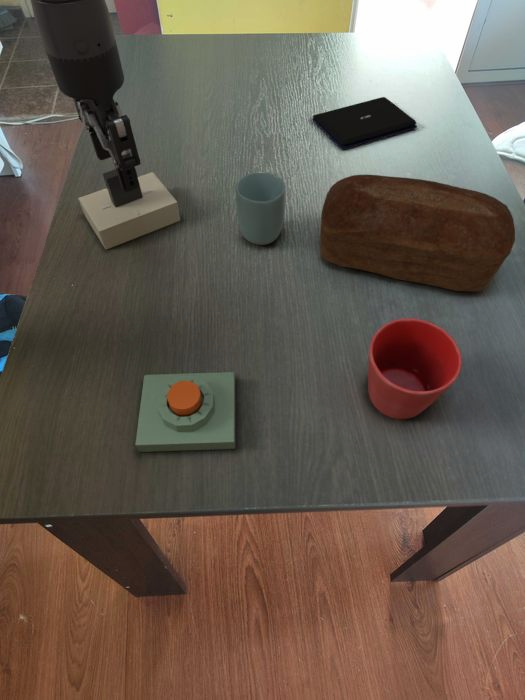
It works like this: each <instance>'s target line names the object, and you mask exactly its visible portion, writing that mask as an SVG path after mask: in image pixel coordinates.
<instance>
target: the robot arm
mask: <svg viewBox="0 0 525 700" xmlns="http://www.w3.org/2000/svg"><path fill="white" fill-rule="evenodd" d="M29 1H30V5H31V8H32V14H33V17H34V20H35V24H36V25H35V26H36V28H37V30H38V34H39V37H40V39H41V42H42V44H43V48H44V51H45V54H46V56H47V59H48V62H49V65H50V68H51V71H52V74H53V76H54V79H55V82H56V85H57V88H58V89H59V91H60V92H61V94H63V95H65V96H66V97H68V98H71V99H72V100H73V102H74V106H75V109H76V112H77V117H78V119H79V121H80V122H81V123H82V124H83V125H84V129H85V131H86V132H87V133H88V134H89V136H90V140H91V142H92V146H93V149H94V153H95V155H96V157H97V159H98V160H99V161H105V160H108V159H110V158H111V160H112V163H113V165H114V167H115V169H116V170H117V174H118V177H119V180H120V184H121V187H122V189H123V190H124V191H125V192H129V191H131V190H134V189H137V188H138V187H139V182H138V178H137V176H138V173H137V174H136V172H137V169H136V167H137V166H140V165H141V159H140V156H139V151H138V148H137V145H136V139H135V136H134V133H133V128H132V125H131V120H130V118H129V116H128V115H127V114H124V115H123V111H122V109H121V107H120V104H119V103H118V101H115V99H114V95H115V94H116V93H117V92H118V91H119V90H120V89H121V88H122V87H123V85H124V83H125V74H124V70H123V66H122V61H121V58H120V57H121V56H120V54H119V53H120V52H119V49H118V44H117V40H116V36H115V32H114V28H113V24H112V23H113V22H112V20H111V15H110V11H109V7H108V5H107V2H106V0H29ZM123 152H125V154H123ZM135 169H136V170H135Z"/></svg>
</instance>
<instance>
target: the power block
mask: <svg viewBox="0 0 525 700" xmlns="http://www.w3.org/2000/svg"><path fill="white" fill-rule="evenodd" d="M235 373H236V372H235V371H227V372H226V371H225V372H224V371H223V372H195V373H194V372H190V373H189V372H188V373H160V374H144V375H143V380H142V381H143V382H142V388H141V389H142V391H141V397H140V404H139V405H140V406H139V413H138V421H137V429H136V436H135V444H134V445H135V447H136V449H137V451H138V452H139V453H149V452H150V453H151V452H153V453H154V452H177V451H179V452H182V451H208V450H209V451H210V450H235V449H236V374H235ZM180 381H191V382H193V383H195V384H196V385H197V386H198V387H199V389H200V393H201V398H202V403H201V406H200V408H199V409H198V410H197V411H196V412H195V413H193V414H191V415H187V416H181V415H178V414H176V413H174V412H173V411H172V410H171V408H170V405H169V402H168V399H167V394H168V391H169V389H170V388H171V386H173V385H174V384H175V383H177V382H180Z"/></svg>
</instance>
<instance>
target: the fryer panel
mask: <svg viewBox="0 0 525 700" xmlns="http://www.w3.org/2000/svg"><path fill="white" fill-rule="evenodd" d="M138 180H139V184H140V188H141V192H142V196H143V197H142V198H140V199H137V200H135V201H132V202H129V203H127V204H124V205H121V206H119V207H115V206H114V205H113V203H112V202H111V198H110V195H109V192H108V189H107V187H106V188H103V189H100V190H97V191H94V192H91V193H89V194H86V195H83V196H80V197H78V198H77V199H78V202H79V205H80V207H81V209H82V213H83V214H84V217H85V218H86V220H87V222H88V223H89V225H90V227H91V228H92V230H93V232H94V233H95V236H97V238H98V240H99V241H100V243H101V245H102V246H103V248H104V249H105V250H106V251H107V250H109V249H112V248H114V247H117V246H119V245H122V244H124V243H127V242H129V241H132V240H135V239H137V238H140V237H142V236H144V235H148V234H150V233H152V232H155V231H158V230H160V229H162V228H165V227H167V226H170V225H172V224H175V223H178V222H180V221H181V216H180V210H179V205H178V201H177V200H176V199H175V198H174V196H173V195H172V194H171V193H170V191H169V190H168V189H167V187H166V186H165V185H164V184H163V182H162V181H161V180H160V179H159V177H158V176H157V175H156V174H155V172H154V171H152V172H149V173H146V174H143V175H140V176H138Z"/></svg>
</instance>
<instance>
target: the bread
mask: <svg viewBox="0 0 525 700" xmlns="http://www.w3.org/2000/svg"><path fill="white" fill-rule="evenodd" d="M319 234H320V235H319V241H320V252H321V257H322V258H323V259H324V260H325V261H326V262H328V263H332V264H335V265H337V266H341V267H344V268H348V269H349V268H350V269H355V270H361V271H365V272H369V273H374V274H377V275H381V276H384V277H389V278H392V279H396V280H401V281H405V282H410V283H411V282H412V283H418V284H423V285H424V284H425V285H428V286H432V287H433V286H434V287H438V288H442V289H446V290H449V291H450V290H451V291H455V292H456V291H457V292H482V291H483V290H484V289H486V288H487V287H488V286H489V284H490V283H491V281H492V280H493V278H494V277H495V276H496V274H497V273H498V271H499V270H500V268H501V267H502V265H503V263H504V262H505V260H506V259H507V258H508V257H509V255H511V252H512V249H513V247H514V245H515V243H516V227H515V222H514V217H513V215H512V212H511V210H510V209H509V207H508V205H507V204H505V203H503V202H501V201H500V200H499V199H497V198H496V197H494V196H492V195H489V194H487V193H484V192H481V191H478V190H477V191H476V190H472V189H469V188H468V189H467V188H464V187H460V186H454V185H451V184H446V183H442V182H438V181H433V180H427V179H419V178H411V177H401V176H390V175H389V176H387V175H378V174H354V175H350V176H347V177H344V178H342V179H340V180H338V181H336V182H335V183H334V184H333V185H331V186H330V188H329V190H328V191H327V193H326V196H325V198H324V202H323V205H322V210H321V217H320V233H319Z"/></svg>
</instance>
